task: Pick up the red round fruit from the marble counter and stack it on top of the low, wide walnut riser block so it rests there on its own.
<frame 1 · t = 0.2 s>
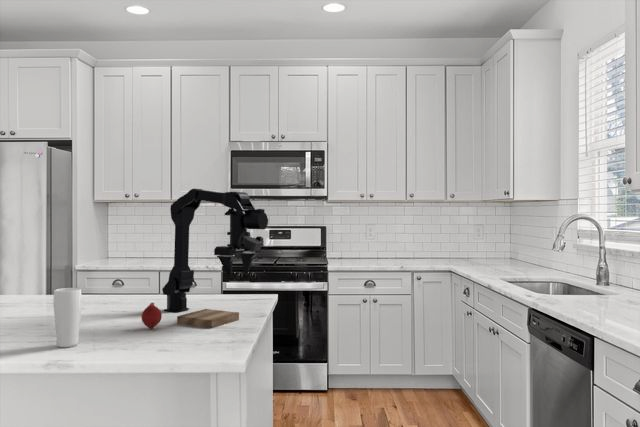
hand: (238, 275, 173), 15 cm above the countertop, tool pointing down, fingers open, 9 cm apart
drinking glass: (67, 346, 137), on the countertop
walnut block: (208, 323, 167), on the countertop
red round fruit: (151, 329, 157), on the countertop
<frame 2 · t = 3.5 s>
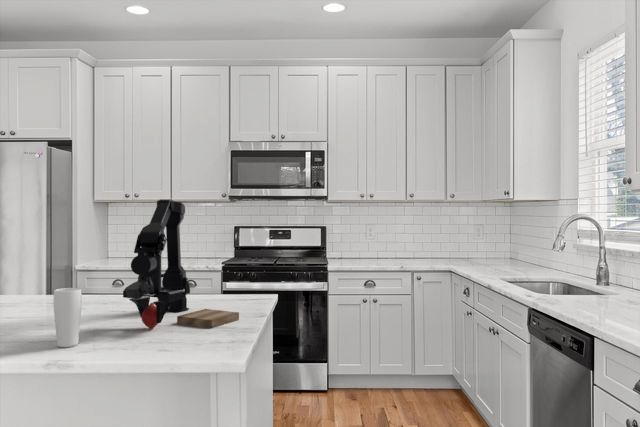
hand: (151, 322, 157), 2 cm above the countertop, tool pointing down, fingers closed on red round fruit, 6 cm apart
red round fruit: (151, 329, 157), on the countertop, touching gripper
everything else where it was.
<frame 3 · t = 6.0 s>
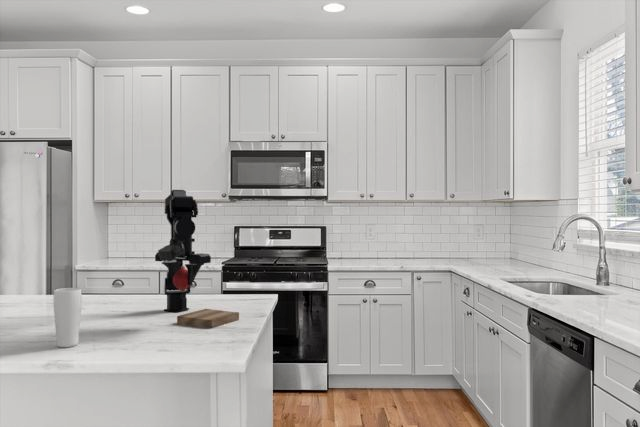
hand: (182, 284, 162), 13 cm above the countertop, tool pointing down, fingers closed on red round fruit, 6 cm apart
red round fruit: (182, 291, 162), point 10 cm above the countertop, touching gripper
everything else where it was.
when the fingers open (6 cm above the countertop, at t = 8.7 s): red round fruit drops 2 cm, resting on walnut block.
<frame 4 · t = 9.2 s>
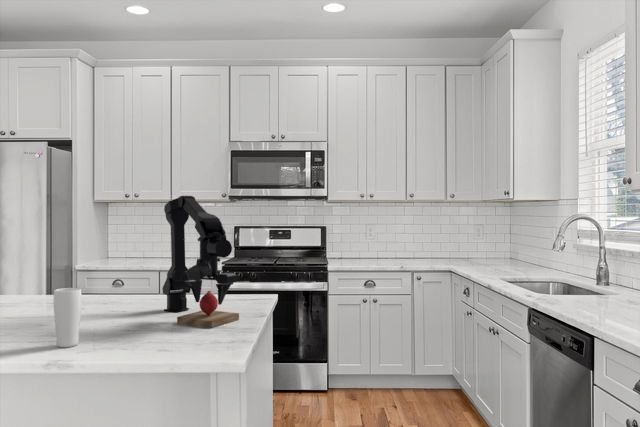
hand: (208, 303, 167), 6 cm above the countertop, tool pointing down, fingers open, 9 cm apart
walnut block: (208, 324, 167), on the countertop, touching red round fruit
red round fruit: (208, 315, 167), point 2 cm above the countertop, touching walnut block
everything else where it was.
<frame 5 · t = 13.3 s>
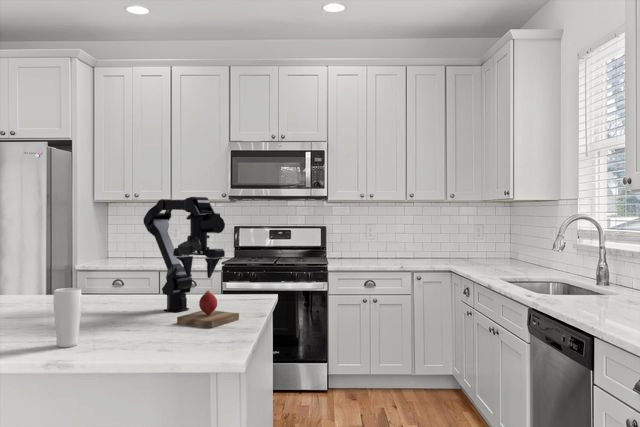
hand: (198, 277, 179), 13 cm above the countertop, tool pointing down, fingers open, 9 cm apart
nothing on the countertop moved.
at the end: red round fruit inside the target area on the walnut block (0.0 cm from its centre), point 2.9 cm above the walnut block's base; red round fruit touching walnut block; the gripper is holding nothing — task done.
